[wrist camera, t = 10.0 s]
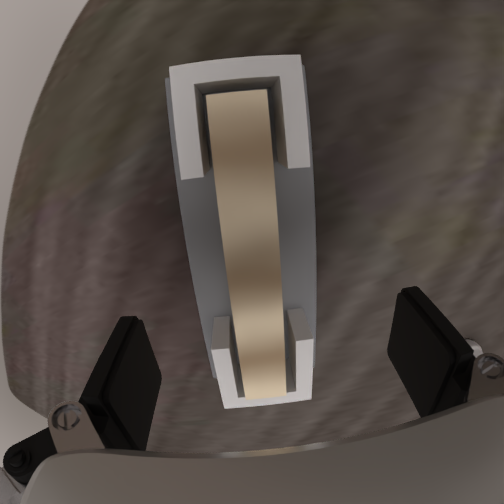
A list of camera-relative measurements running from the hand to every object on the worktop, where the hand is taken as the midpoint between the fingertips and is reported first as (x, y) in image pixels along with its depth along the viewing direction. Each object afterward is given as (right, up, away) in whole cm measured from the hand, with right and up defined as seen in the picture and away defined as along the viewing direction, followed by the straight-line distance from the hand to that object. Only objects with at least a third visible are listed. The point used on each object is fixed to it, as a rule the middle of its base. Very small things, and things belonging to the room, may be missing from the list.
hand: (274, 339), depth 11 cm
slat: (-1, +3, +11) cm, 11 cm away
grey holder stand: (-1, +4, +12) cm, 13 cm away
